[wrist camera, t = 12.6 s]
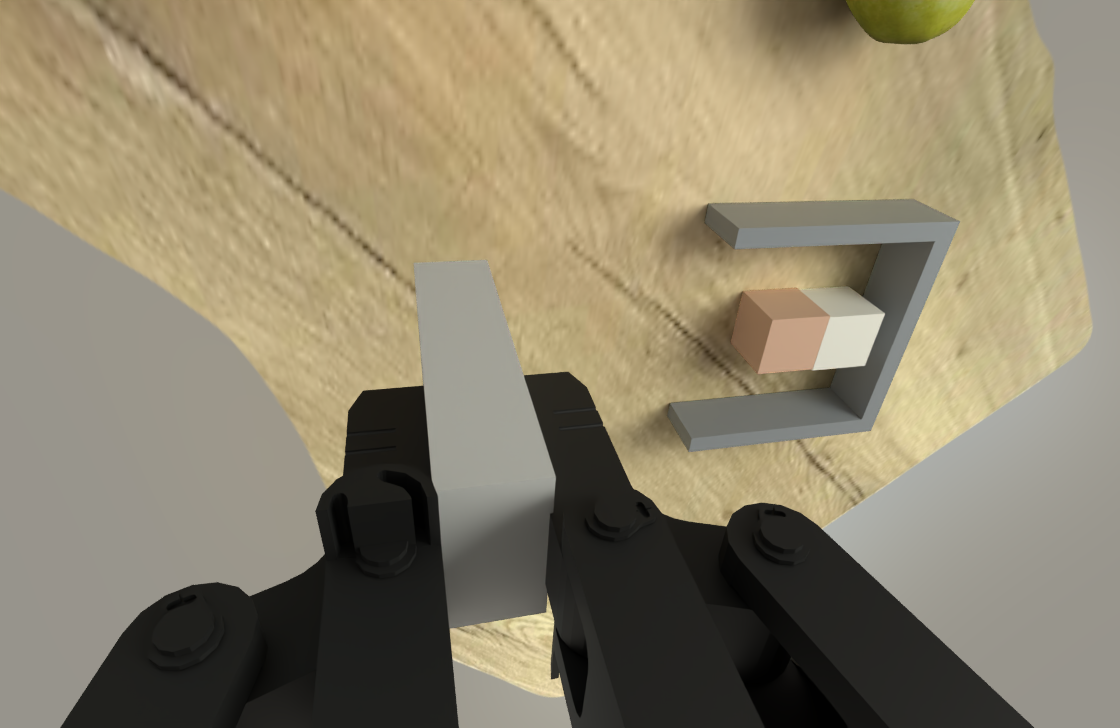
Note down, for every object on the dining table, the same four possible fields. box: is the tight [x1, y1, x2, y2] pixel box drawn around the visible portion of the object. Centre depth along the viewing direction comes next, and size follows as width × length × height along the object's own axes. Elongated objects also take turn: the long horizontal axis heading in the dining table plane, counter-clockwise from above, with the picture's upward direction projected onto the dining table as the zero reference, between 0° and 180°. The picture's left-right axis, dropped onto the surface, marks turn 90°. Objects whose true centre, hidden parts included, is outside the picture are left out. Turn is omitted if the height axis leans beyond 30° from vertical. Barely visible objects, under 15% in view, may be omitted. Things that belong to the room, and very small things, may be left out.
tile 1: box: [731, 288, 830, 374], centre depth 51 cm, size 5×5×5 cm
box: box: [668, 199, 960, 452], centre depth 52 cm, size 20×18×5 cm
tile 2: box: [799, 286, 885, 371], centre depth 52 cm, size 5×5×5 cm
